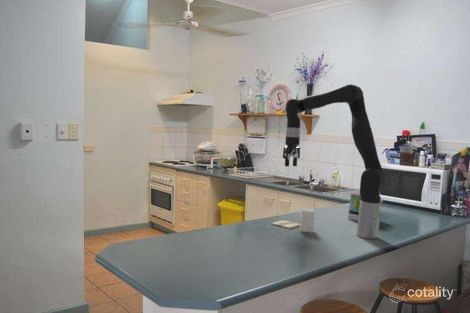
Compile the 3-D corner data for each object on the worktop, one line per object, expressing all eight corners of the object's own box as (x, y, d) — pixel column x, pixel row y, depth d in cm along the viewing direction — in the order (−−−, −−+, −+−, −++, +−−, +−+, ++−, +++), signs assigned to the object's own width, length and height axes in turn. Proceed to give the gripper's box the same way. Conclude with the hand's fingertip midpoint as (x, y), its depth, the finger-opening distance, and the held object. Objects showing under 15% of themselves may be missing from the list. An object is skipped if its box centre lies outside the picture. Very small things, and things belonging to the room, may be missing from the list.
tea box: (364, 223, 224) (367, 196, 222) (347, 219, 230) (350, 193, 228) (373, 218, 236) (376, 194, 234) (357, 215, 242) (359, 191, 240)
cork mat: (301, 225, 207) (301, 224, 207) (290, 229, 198) (290, 227, 198) (282, 220, 214) (282, 219, 213) (271, 224, 205) (271, 223, 205)
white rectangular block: (311, 229, 201) (313, 209, 200) (312, 232, 195) (314, 212, 194) (299, 228, 202) (301, 208, 201) (300, 231, 196) (302, 211, 195)
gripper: (292, 136, 210) (290, 167, 211) (305, 137, 221) (303, 166, 222) (279, 135, 215) (278, 165, 215) (293, 136, 226) (291, 165, 227)
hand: (290, 166), depth 219 cm, fingers open, 8 cm apart
